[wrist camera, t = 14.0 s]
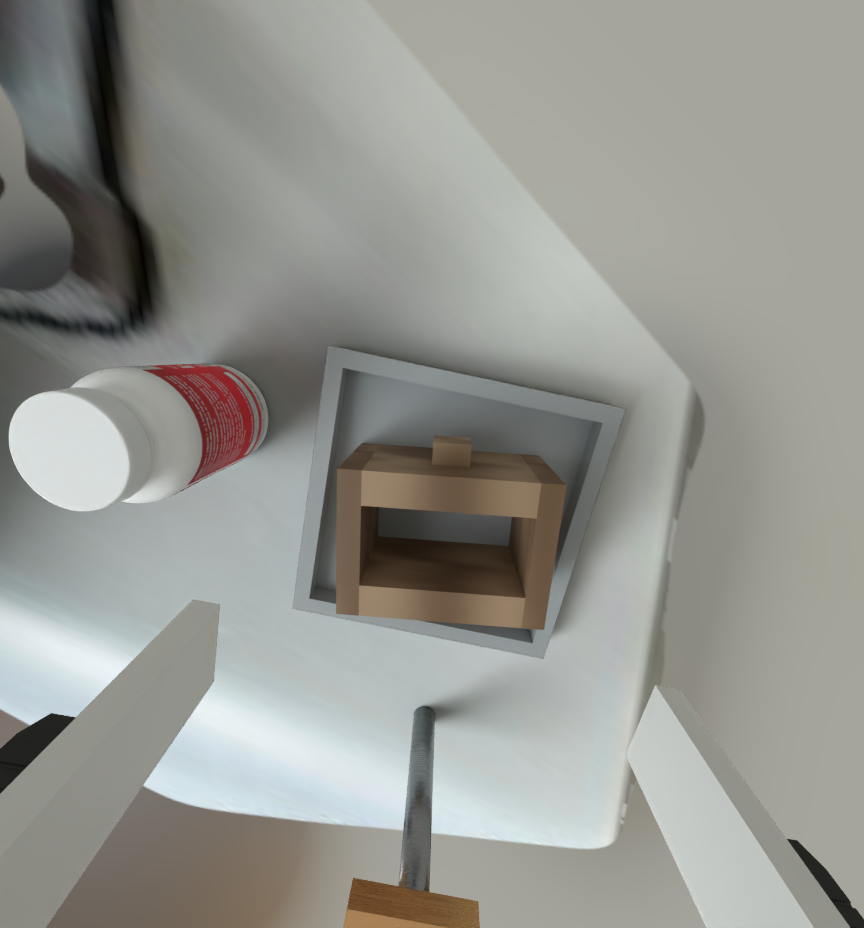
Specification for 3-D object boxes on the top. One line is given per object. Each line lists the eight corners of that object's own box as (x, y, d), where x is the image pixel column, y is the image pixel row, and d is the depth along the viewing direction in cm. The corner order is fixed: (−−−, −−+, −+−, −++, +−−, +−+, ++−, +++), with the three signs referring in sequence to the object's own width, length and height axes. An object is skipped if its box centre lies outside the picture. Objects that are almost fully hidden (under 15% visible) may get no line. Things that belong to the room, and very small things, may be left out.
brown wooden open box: (359, 559, 28) (336, 613, 22) (362, 424, 25) (336, 444, 19) (523, 572, 27) (543, 630, 22) (541, 436, 25) (570, 460, 19)
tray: (302, 591, 29) (292, 608, 27) (337, 346, 25) (327, 345, 23) (537, 638, 29) (543, 658, 27) (611, 405, 25) (625, 409, 23)
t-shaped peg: (381, 715, 32) (342, 930, 20) (385, 698, 31) (347, 907, 19) (463, 731, 32) (472, 954, 20) (467, 714, 31) (480, 932, 20)
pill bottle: (231, 343, 25) (68, 334, 14) (291, 429, 26) (183, 480, 15) (155, 397, 26) (-50, 427, 15) (216, 477, 27) (66, 557, 16)
